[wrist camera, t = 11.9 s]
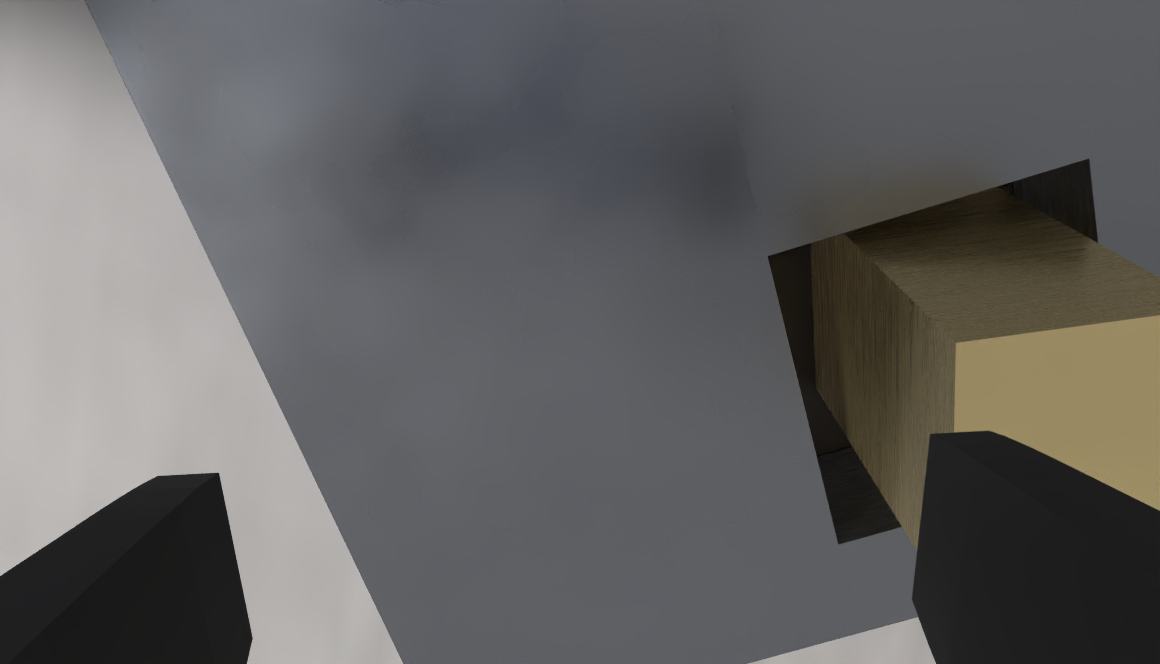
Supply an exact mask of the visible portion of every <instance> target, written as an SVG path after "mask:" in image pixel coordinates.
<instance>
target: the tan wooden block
mask: <svg viewBox="0 0 1160 664" xmlns="http://www.w3.org/2000/svg"><path fill="white" fill-rule="evenodd" d="M810 251H811V276H812V300H813V325H814V350H815V375H816V389H817V390H818V392H819V393H820V395H821V397H822V398H823V400H824V401H825V403H826V405H827V406H828V408H829V410H830V411H831V413H832V414H833V416H834V418H835V419H836V421H837V423H838V424H839V426H840V427H841V429H842V431H843V432H844V434H845V435H846V437H847V439H848V440H849V442H850V444H851V445H852V447H853V448H854V450H855V452H856V453H857V455H858V456H859V458H860V460H861V461H862V463H863V465H864V466H865V468H866V469H867V471H868V473H869V474H870V476H871V478H872V479H873V481H874V482H875V484H876V486H877V487H878V489H879V490H880V492H881V494H882V495H883V497H884V499H885V500H886V502H887V503H888V505H889V507H890V508H891V510H892V512H893V513H894V515H895V516H896V518H897V520H898V521H899V523H900V524H901V526H902V528H903V529H904V531H905V533H906V534H907V536H908V537H909V539H910V541H911V542H912V544H913V546H914V547H915V549H916V550H917V547H918V538H919V529H920V520H921V511H922V503H923V494H924V485H925V476H926V467H927V458H928V449H929V440H930V434H935V433H953V432H971V431H992V432H995V433H998V434H1000V435H1003V436H1006V437H1008V438H1011V439H1013V440H1015V441H1018V442H1020V443H1022V444H1025V445H1027V446H1029V447H1031V448H1033V449H1036V450H1038V451H1040V452H1042V453H1044V454H1046V455H1048V456H1050V457H1052V458H1054V459H1056V460H1059V461H1061V462H1063V463H1065V464H1067V465H1069V466H1071V467H1073V468H1075V469H1077V470H1079V471H1081V472H1083V473H1085V474H1087V475H1089V476H1091V477H1093V478H1095V479H1097V480H1099V481H1101V482H1103V483H1105V484H1107V485H1109V486H1111V487H1113V488H1115V489H1117V490H1119V491H1121V492H1123V493H1125V494H1127V495H1129V496H1131V497H1133V498H1135V499H1137V500H1139V501H1141V502H1143V503H1145V504H1147V505H1149V506H1151V507H1153V508H1155V509H1157V510H1159V511H1160V277H1158V276H1156V275H1154V274H1153V273H1151V272H1149V271H1147V270H1145V269H1144V268H1142V267H1140V266H1138V265H1136V264H1135V263H1133V262H1131V261H1129V260H1127V259H1126V258H1124V257H1122V256H1120V255H1118V254H1117V253H1115V252H1113V251H1111V250H1109V249H1108V248H1106V247H1104V246H1102V245H1101V244H1099V243H1097V242H1095V241H1093V240H1092V239H1090V238H1088V237H1086V236H1084V235H1083V234H1081V233H1079V232H1077V231H1075V230H1074V229H1072V228H1070V227H1068V226H1066V225H1065V224H1063V223H1061V222H1059V221H1057V220H1056V219H1054V218H1052V217H1050V216H1048V215H1047V214H1045V213H1043V212H1041V211H1039V210H1038V209H1036V208H1034V207H1032V206H1030V205H1029V204H1027V203H1025V202H1023V201H1021V200H1020V199H1018V198H1016V197H1014V196H1012V195H1011V194H1009V193H1007V192H1005V191H1003V190H1002V189H1000V188H998V187H993V188H990V189H987V190H984V191H980V192H977V193H974V194H970V195H967V196H964V197H961V198H957V199H954V200H951V201H947V202H944V203H941V204H937V205H934V206H931V207H928V208H924V209H921V210H918V211H914V212H911V213H908V214H905V215H901V216H898V217H895V218H891V219H888V220H885V221H882V222H878V223H875V224H872V225H868V226H865V227H862V228H859V229H855V230H852V231H849V232H845V233H842V234H839V235H835V236H832V237H829V238H826V239H822V240H819V241H816V242H812V243H810Z"/></svg>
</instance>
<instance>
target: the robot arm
mask: <svg viewBox="0 0 1160 664" xmlns="http://www.w3.org/2000/svg"><path fill="white" fill-rule="evenodd" d="M912 601H913V604H914V607H915V609H916V612H917V615H918V617H919V620H920V623H921V625H922V628H923V631H924V633H925V636H926V639H927V641H928V644H929V647H930V649H931V652H932V654H933V657H934V659H935V661H936V664H1160V511H1159V510H1157V509H1155V508H1153V507H1151V506H1149V505H1147V504H1145V503H1143V502H1141V501H1139V500H1137V499H1135V498H1133V497H1131V496H1129V495H1127V494H1125V493H1123V492H1121V491H1119V490H1117V489H1115V488H1113V487H1111V486H1109V485H1107V484H1105V483H1103V482H1101V481H1099V480H1097V479H1095V478H1093V477H1091V476H1089V475H1087V474H1085V473H1083V472H1081V471H1079V470H1077V469H1075V468H1073V467H1071V466H1069V465H1067V464H1065V463H1063V462H1061V461H1059V460H1056V459H1054V458H1052V457H1050V456H1048V455H1046V454H1044V453H1042V452H1040V451H1038V450H1036V449H1033V448H1031V447H1029V446H1027V445H1025V444H1022V443H1020V442H1018V441H1015V440H1013V439H1011V438H1008V437H1006V436H1003V435H1000V434H998V433H995V432H992V431H971V432H953V433H935V434H930V440H929V449H928V458H927V467H926V476H925V485H924V494H923V503H922V511H921V520H920V529H919V538H918V547H917V556H916V565H915V574H914V583H913V592H912ZM252 639H253V638H252V633H251V628H250V623H249V618H248V614H247V609H246V604H245V599H244V594H243V589H242V584H241V579H240V574H239V569H238V564H237V560H236V555H235V550H234V545H233V540H232V535H231V530H230V525H229V520H228V515H227V510H226V506H225V501H224V496H223V491H222V486H221V481H220V476H219V473H206V474H187V475H169V476H157V477H155V478H153V479H151V480H149V481H147V482H145V483H143V484H142V485H140V486H138V487H136V488H135V489H133V490H131V491H130V492H128V493H126V494H125V495H123V496H121V497H120V498H118V499H117V500H115V501H114V502H112V503H110V504H109V505H107V506H106V507H104V508H103V509H101V510H100V511H98V512H97V513H95V514H93V515H92V516H90V517H89V518H87V519H86V520H84V521H83V522H81V523H80V524H78V525H77V526H75V527H74V528H72V529H71V530H69V531H68V532H66V533H65V534H63V535H62V536H60V537H59V538H57V539H56V540H54V541H53V542H51V543H50V544H48V545H47V546H45V547H44V548H42V549H41V550H39V551H38V552H36V553H35V554H33V555H32V556H30V557H29V558H27V559H25V560H24V561H22V562H21V563H19V564H18V565H16V566H15V567H13V568H12V569H10V570H9V571H7V572H6V573H4V574H3V575H1V576H0V664H247V660H248V656H249V651H250V647H251V643H252Z"/></svg>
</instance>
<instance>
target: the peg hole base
mask: <svg viewBox="0 0 1160 664" xmlns="http://www.w3.org/2000/svg"><path fill="white" fill-rule="evenodd" d="M85 2H86V4H87V6H88V8H89V10H90V12H91V15H92V17H93V19H94V21H95V23H96V25H97V27H98V29H99V31H100V33H101V35H102V37H103V40H104V42H105V44H106V46H107V48H108V50H109V52H110V54H111V56H112V58H113V60H114V62H115V64H116V67H117V69H118V71H119V73H120V75H121V77H122V79H123V81H124V83H125V85H126V87H127V89H128V92H129V94H130V96H131V98H132V100H133V102H134V104H135V106H136V108H137V110H138V112H139V114H140V116H141V119H142V121H143V123H144V125H145V127H146V129H147V131H148V133H149V135H150V137H151V139H152V141H153V144H154V146H155V148H156V150H157V152H158V154H159V156H160V158H161V160H162V162H163V164H164V166H165V169H166V171H167V173H168V175H169V177H170V179H171V181H172V183H173V185H174V187H175V189H176V191H177V193H178V196H179V198H180V200H181V202H182V204H183V206H184V208H185V210H186V212H187V214H188V216H189V218H190V221H191V223H192V225H193V227H194V229H195V231H196V233H197V235H198V237H199V239H200V241H201V243H202V245H203V248H204V250H205V252H206V254H207V256H208V258H209V260H210V262H211V264H212V266H213V268H214V270H215V273H216V275H217V277H218V279H219V281H220V283H221V285H222V287H223V289H224V291H225V293H226V295H227V298H228V300H229V302H230V304H231V306H232V308H233V310H234V312H235V314H236V316H237V318H238V320H239V322H240V325H241V327H242V329H243V331H244V333H245V335H246V337H247V339H248V341H249V343H250V345H251V347H252V350H253V352H254V354H255V356H256V358H257V360H258V362H259V364H260V366H261V368H262V370H263V372H264V374H265V377H266V379H267V381H268V383H269V385H270V387H271V389H272V391H273V393H274V395H275V397H276V399H277V402H278V404H279V406H280V408H281V410H282V412H283V414H284V416H285V418H286V420H287V422H288V424H289V427H290V429H291V431H292V433H293V435H294V437H295V439H296V441H297V443H298V445H299V447H300V449H301V451H302V454H303V456H304V458H305V460H306V462H307V464H308V466H309V468H310V470H311V472H312V474H313V476H314V479H315V481H316V483H317V485H318V487H319V489H320V491H321V493H322V495H323V497H324V499H325V501H326V503H327V506H328V508H329V510H330V512H331V514H332V516H333V518H334V520H335V522H336V524H337V526H338V528H339V531H340V533H341V535H342V537H343V539H344V541H345V543H346V545H347V547H348V549H349V551H350V553H351V556H352V558H353V560H354V562H355V564H356V566H357V568H358V570H359V572H360V574H361V576H362V578H363V580H364V583H365V585H366V587H367V589H368V591H369V593H370V595H371V597H372V599H373V601H374V603H375V605H376V608H377V610H378V612H379V614H380V616H381V618H382V620H383V622H384V624H385V626H386V628H387V630H388V633H389V635H390V637H391V639H392V641H393V643H394V645H395V647H396V649H397V651H398V653H399V655H400V657H401V660H402V662H403V664H748V663H751V662H755V661H759V660H762V659H766V658H769V657H773V656H777V655H780V654H784V653H788V652H791V651H795V650H799V649H802V648H806V647H810V646H813V645H817V644H821V643H824V642H828V641H832V640H835V639H839V638H843V637H846V636H850V635H854V634H857V633H861V632H865V631H868V630H872V629H876V628H879V627H883V626H887V625H890V624H894V623H898V622H901V621H905V620H909V619H912V618H916V617H918V615H917V612H916V609H915V607H914V604H913V601H912V592H913V583H914V574H915V565H916V556H917V550H916V549H915V547H914V546H913V544H912V542H911V541H910V539H909V537H908V536H907V534H906V533H905V531H904V529H903V528H902V526H901V524H900V523H899V521H898V520H897V518H896V516H895V515H894V513H893V512H892V510H891V508H890V507H889V505H888V503H887V502H886V500H885V499H884V497H883V495H882V494H881V492H880V490H879V489H878V487H877V486H876V484H875V482H874V481H873V479H872V478H871V476H870V474H869V473H868V471H867V469H866V468H865V466H864V465H863V463H862V461H861V460H860V458H859V456H858V455H857V453H856V452H855V450H854V448H853V447H849V448H845V449H842V450H838V451H835V452H831V453H828V454H825V455H821V456H818V457H817V456H816V452H815V448H814V444H813V439H812V435H811V431H810V427H809V423H808V419H807V415H806V411H805V407H804V403H803V399H802V395H801V391H800V386H799V382H798V378H797V374H796V370H795V366H794V362H793V358H792V354H791V350H790V346H789V342H788V338H787V334H786V329H785V325H784V321H783V317H782V313H781V309H780V305H779V301H778V297H777V293H776V289H775V285H774V281H773V276H772V272H771V268H770V264H769V260H768V256H770V255H773V254H776V253H780V252H783V251H786V250H789V249H793V248H796V247H799V246H803V245H806V244H809V243H812V242H816V241H819V240H822V239H826V238H829V237H832V236H835V235H839V234H842V233H845V232H849V231H852V230H855V229H859V228H862V227H865V226H868V225H872V224H875V223H878V222H882V221H885V220H888V219H891V218H895V217H898V216H901V215H905V214H908V213H911V212H914V211H918V210H921V209H924V208H928V207H931V206H934V205H937V204H941V203H944V202H947V201H951V200H954V199H957V198H961V197H964V196H967V195H970V194H974V193H977V192H980V191H984V190H987V189H990V188H993V187H997V186H1000V185H1003V184H1007V183H1010V182H1013V190H1014V197H1016V198H1018V199H1020V200H1021V201H1023V202H1025V203H1027V204H1029V205H1030V206H1032V207H1034V208H1036V209H1038V210H1039V211H1041V212H1043V213H1045V214H1047V215H1048V216H1050V217H1052V218H1054V219H1056V220H1057V221H1059V222H1061V223H1063V224H1065V225H1066V226H1068V227H1070V228H1072V229H1074V230H1075V231H1077V232H1079V233H1081V234H1083V235H1084V236H1086V237H1088V238H1090V239H1092V240H1093V241H1095V242H1097V243H1099V244H1101V245H1102V246H1104V247H1106V248H1108V249H1109V250H1111V251H1113V252H1115V253H1117V254H1118V255H1120V256H1122V257H1124V258H1126V259H1127V260H1129V261H1131V262H1133V263H1135V264H1136V265H1138V266H1140V267H1142V268H1144V269H1145V270H1147V271H1149V272H1151V273H1153V274H1154V275H1156V276H1158V277H1160V0H85Z"/></svg>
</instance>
